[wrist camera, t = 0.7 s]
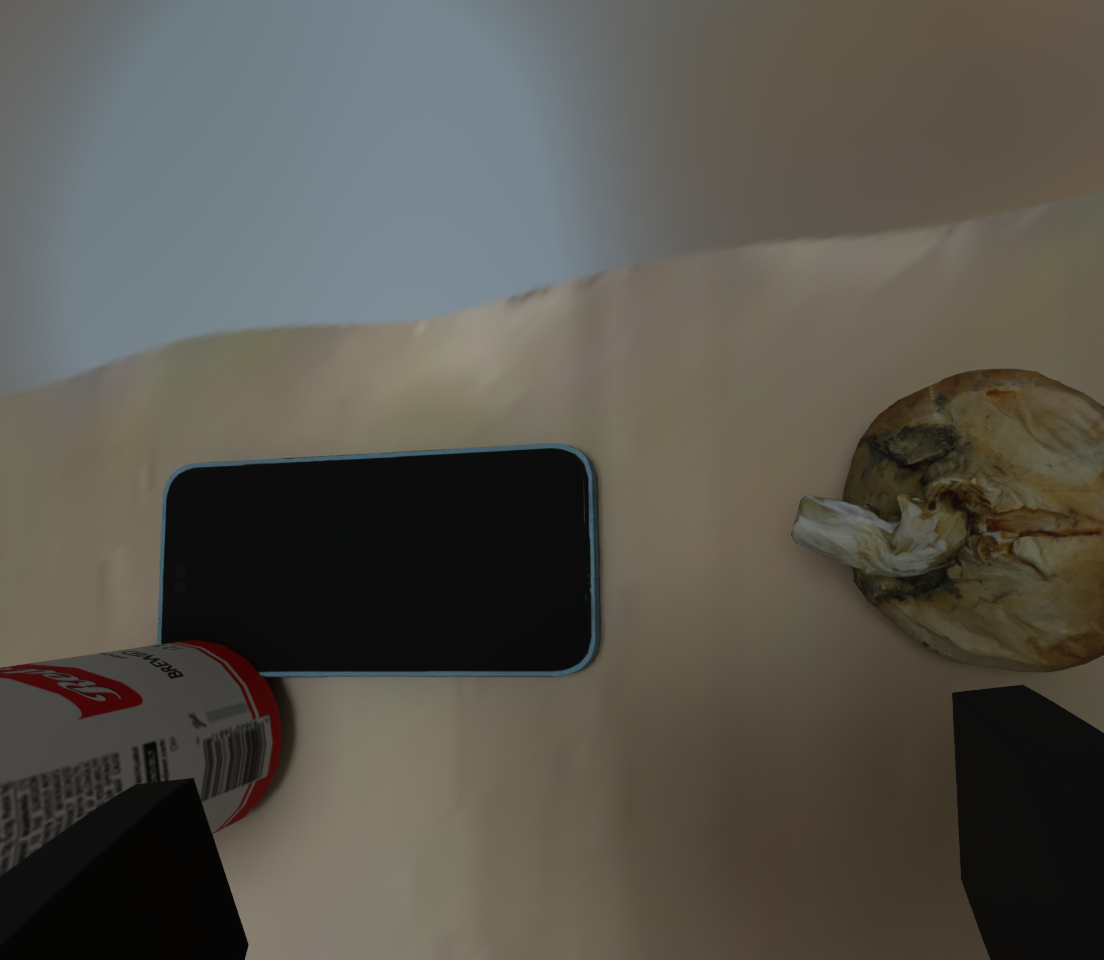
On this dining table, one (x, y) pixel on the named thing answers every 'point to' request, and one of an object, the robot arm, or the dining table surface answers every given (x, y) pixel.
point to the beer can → (131, 736)
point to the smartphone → (387, 562)
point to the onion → (978, 520)
